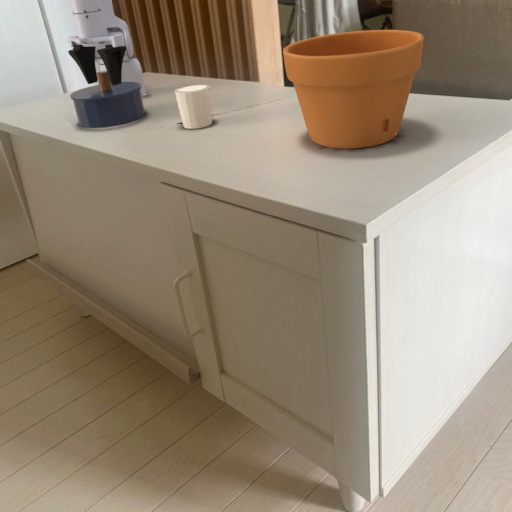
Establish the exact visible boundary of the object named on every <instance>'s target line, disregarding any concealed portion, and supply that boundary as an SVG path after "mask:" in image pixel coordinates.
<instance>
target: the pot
mask: <svg viewBox="0 0 512 512" xmlns="http://www.w3.org/2000/svg"><path fill="white" fill-rule="evenodd" d="M72 102H73V105H74V109H75V113H76V116H77V120H78V124H79V126H81V127H82V128H89V129H101V128H110V127H116V126H121V125H126V124H129V123H132V122H134V121H138V120H139V119H141V118H142V117H144V116H145V107H144V101H143V96H141V91H140V90H138V91H137V92H134V93H132V94H128V95H125V96H121V97H117V98H111V99H105V100H97V101H75V100H72Z"/></svg>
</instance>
